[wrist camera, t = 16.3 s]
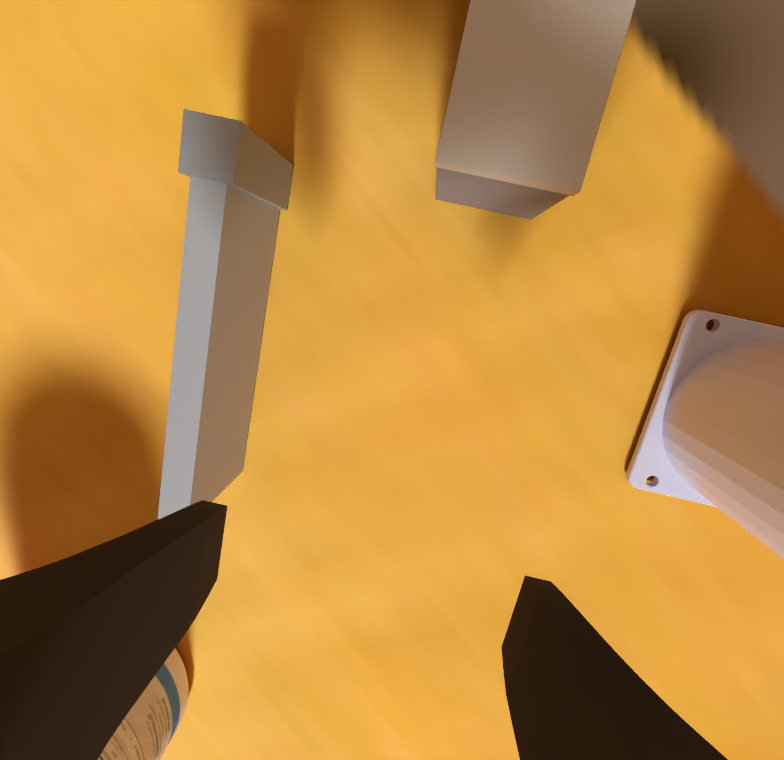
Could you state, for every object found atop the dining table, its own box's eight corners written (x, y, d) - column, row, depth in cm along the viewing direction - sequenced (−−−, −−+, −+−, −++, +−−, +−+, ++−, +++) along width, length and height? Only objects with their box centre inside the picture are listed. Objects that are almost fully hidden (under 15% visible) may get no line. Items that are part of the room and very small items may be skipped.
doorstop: (593, -6, 16) (687, -172, 10) (531, 221, 18) (580, 191, 12) (484, -27, 16) (514, -202, 10) (434, 200, 18) (435, 161, 12)
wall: (367, -340, 15) (334, -671, 10) (248, 472, 22) (192, 531, 16) (315, -348, 15) (254, -681, 10) (213, 464, 22) (146, 519, 17)
